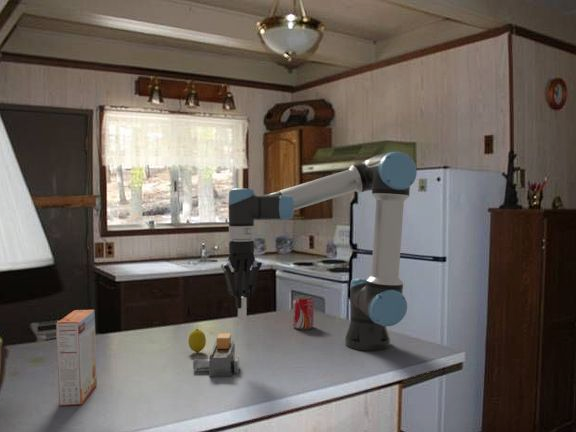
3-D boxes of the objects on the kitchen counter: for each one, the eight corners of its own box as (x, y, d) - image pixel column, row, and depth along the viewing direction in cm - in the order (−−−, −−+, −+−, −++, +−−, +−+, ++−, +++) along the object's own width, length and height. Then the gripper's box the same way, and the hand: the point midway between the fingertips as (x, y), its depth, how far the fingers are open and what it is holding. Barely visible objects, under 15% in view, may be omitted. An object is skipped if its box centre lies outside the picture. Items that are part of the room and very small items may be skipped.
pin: (239, 366, 158) (239, 355, 158) (237, 372, 152) (237, 361, 152) (195, 366, 158) (195, 355, 158) (192, 373, 152) (192, 361, 152)
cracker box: (74, 386, 143) (73, 309, 142) (97, 385, 143) (96, 308, 143) (56, 406, 129) (54, 321, 128) (81, 405, 129) (80, 321, 129)
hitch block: (234, 361, 164) (234, 341, 163) (230, 376, 150) (230, 354, 149) (215, 361, 164) (215, 341, 163) (209, 376, 150) (209, 354, 149)
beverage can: (290, 325, 208) (290, 295, 207) (310, 324, 210) (310, 294, 209) (295, 331, 200) (295, 299, 200) (316, 329, 202) (316, 298, 202)
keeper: (231, 343, 163) (230, 333, 163) (229, 348, 157) (229, 338, 157) (219, 343, 163) (218, 333, 163) (216, 348, 157) (216, 338, 157)
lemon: (202, 356, 169) (202, 331, 169) (186, 355, 170) (185, 330, 170) (208, 351, 175) (208, 327, 174) (192, 350, 176) (192, 326, 175)
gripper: (228, 242, 151) (228, 324, 152) (266, 239, 158) (267, 317, 159) (216, 240, 157) (216, 319, 158) (253, 238, 165) (254, 313, 166)
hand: (242, 318), depth 159 cm, fingers closed
